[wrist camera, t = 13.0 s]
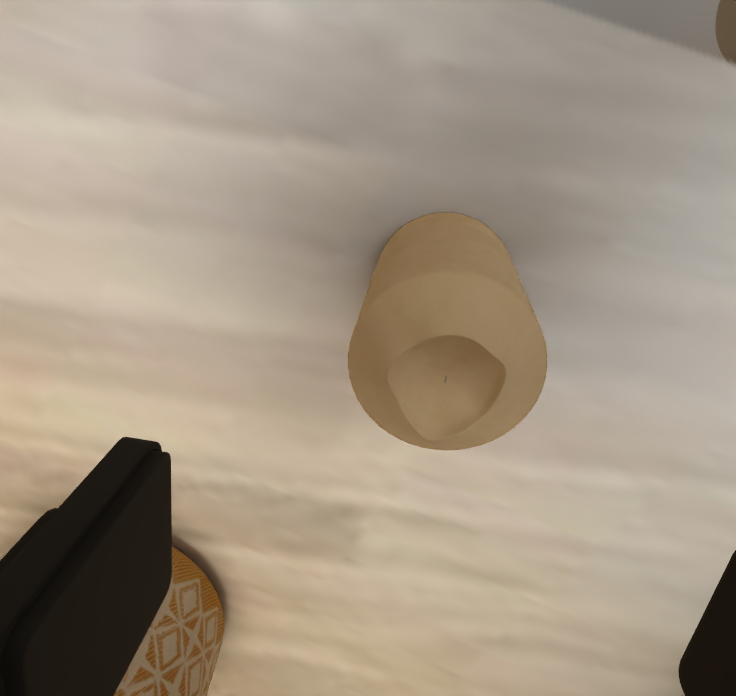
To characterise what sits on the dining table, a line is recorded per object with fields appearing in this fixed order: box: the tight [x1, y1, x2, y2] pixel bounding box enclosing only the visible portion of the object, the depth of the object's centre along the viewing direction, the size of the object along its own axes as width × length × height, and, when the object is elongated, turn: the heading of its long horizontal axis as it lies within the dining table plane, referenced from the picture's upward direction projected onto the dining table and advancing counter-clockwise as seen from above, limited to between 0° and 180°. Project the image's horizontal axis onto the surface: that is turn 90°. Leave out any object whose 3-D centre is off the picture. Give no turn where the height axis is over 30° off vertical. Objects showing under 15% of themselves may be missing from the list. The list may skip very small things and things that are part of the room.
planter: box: [114, 547, 224, 696], centre depth 29 cm, size 13×13×10 cm
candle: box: [348, 212, 547, 450], centre depth 20 cm, size 6×6×10 cm
